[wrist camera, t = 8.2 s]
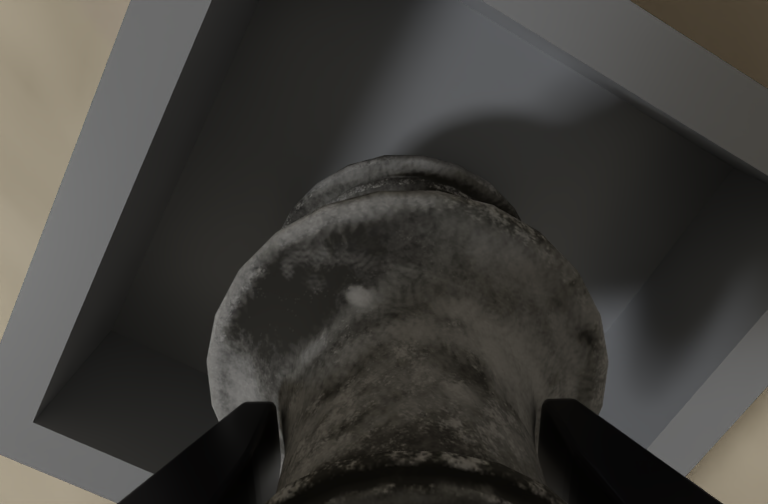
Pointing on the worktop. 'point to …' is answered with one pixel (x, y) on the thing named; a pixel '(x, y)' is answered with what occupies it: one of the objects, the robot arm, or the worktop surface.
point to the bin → (370, 140)
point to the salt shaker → (407, 340)
